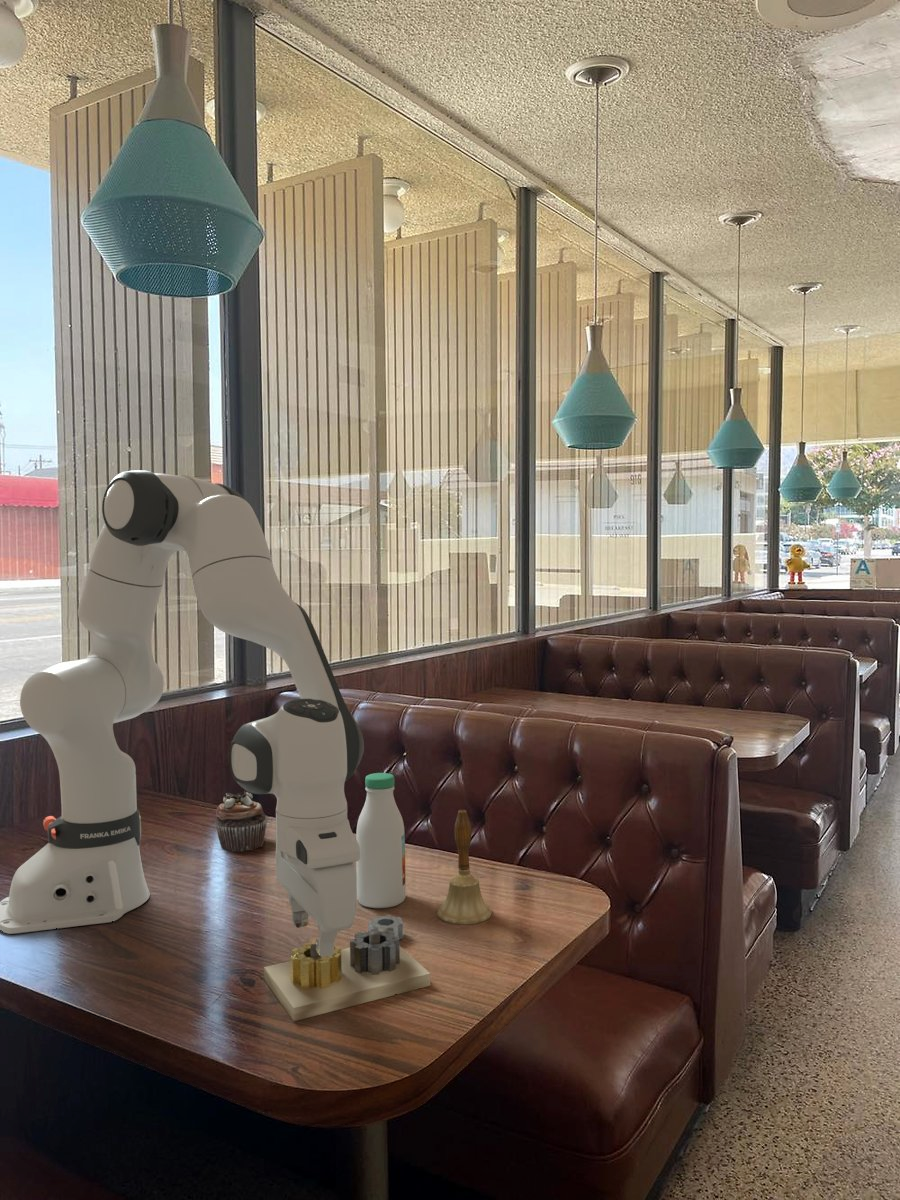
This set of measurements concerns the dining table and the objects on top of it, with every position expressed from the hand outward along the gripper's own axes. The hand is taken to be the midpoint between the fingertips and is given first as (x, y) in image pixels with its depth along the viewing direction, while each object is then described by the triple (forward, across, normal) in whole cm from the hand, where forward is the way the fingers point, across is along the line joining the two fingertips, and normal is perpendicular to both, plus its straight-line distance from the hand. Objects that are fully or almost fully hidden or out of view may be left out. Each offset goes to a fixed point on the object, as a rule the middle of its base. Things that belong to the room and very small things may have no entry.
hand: (312, 939), depth 113 cm
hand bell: (+7, -12, +28) cm, 32 cm away
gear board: (+6, 0, +4) cm, 8 cm away
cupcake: (+7, -61, +7) cm, 62 cm away
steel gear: (+5, 0, +8) cm, 10 cm away
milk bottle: (+7, -23, +19) cm, 31 cm away
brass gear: (+5, 0, 0) cm, 5 cm away
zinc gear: (+6, -10, +14) cm, 19 cm away
